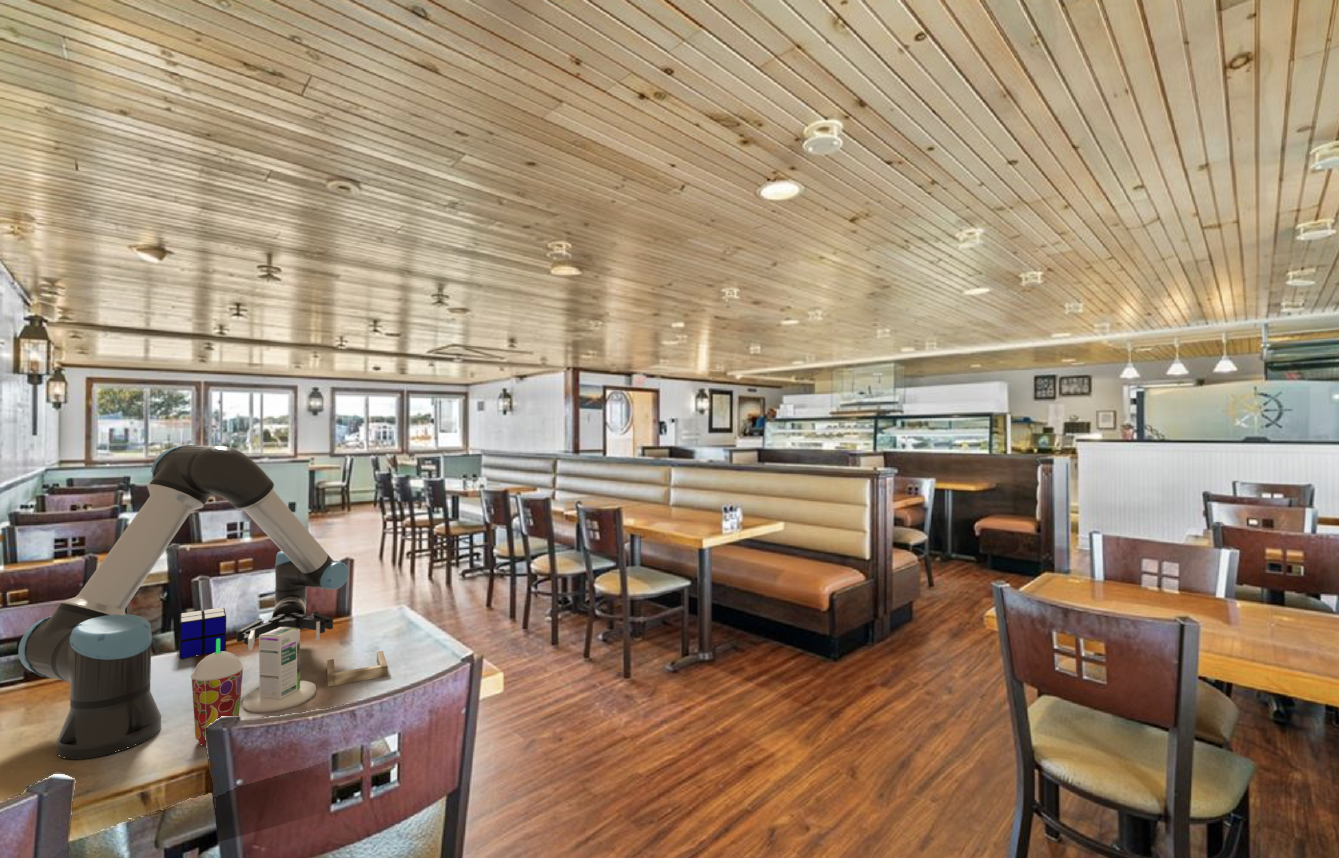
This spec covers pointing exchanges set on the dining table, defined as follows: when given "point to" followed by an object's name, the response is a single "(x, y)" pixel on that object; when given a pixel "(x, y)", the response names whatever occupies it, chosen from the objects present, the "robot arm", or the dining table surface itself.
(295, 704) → the ceramic plate
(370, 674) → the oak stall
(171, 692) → the dining table surface
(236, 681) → the smoothie
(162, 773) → the dining table surface
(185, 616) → the puzzle cube
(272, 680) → the syrup box
